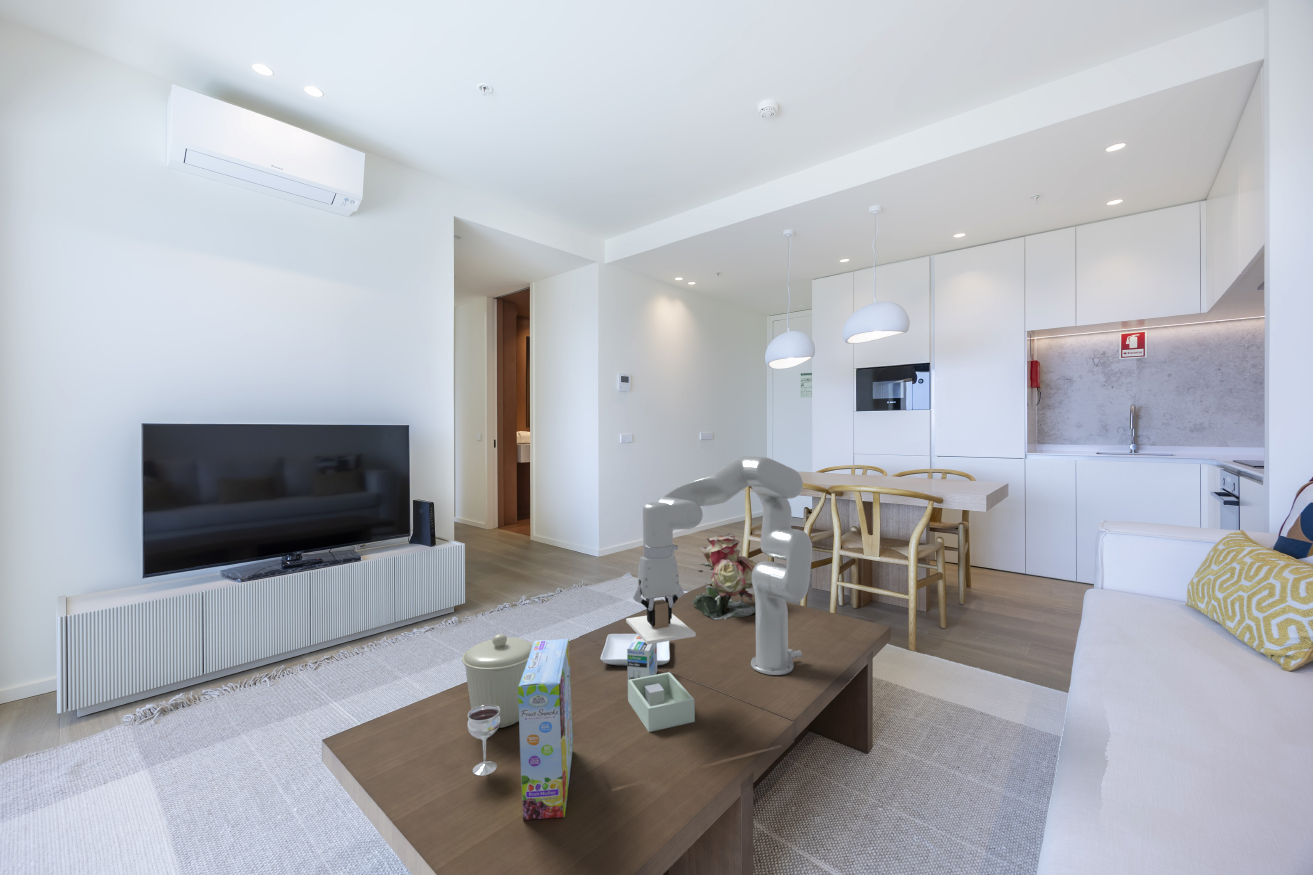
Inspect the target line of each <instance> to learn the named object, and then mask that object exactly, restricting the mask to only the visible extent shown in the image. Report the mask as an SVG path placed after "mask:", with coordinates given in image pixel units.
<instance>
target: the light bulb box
mask: <svg viewBox="0 0 1313 875" xmlns="http://www.w3.org/2000/svg"><path fill="white" fill-rule="evenodd" d="M626 666H627V667H626V668H627V681H628V680H630V679H635V678H641V677H646V676H652V675H657V673H658V665H657V643H654V644H648V645H647V644H646V643H645V641H644V640H643V639H642V638H641V637H640V636H635V638H634V639H633V641H632V642H631V644H630V645H629V647H628V649H627V665H626Z"/></svg>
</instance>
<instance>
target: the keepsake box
mask: <svg viewBox="0 0 1313 875" xmlns="http://www.w3.org/2000/svg"><path fill="white" fill-rule="evenodd" d="M658 683H659V684H660V686H661V687H662V688H663V689H664V704H660V705H655V706H650V705H649V704H648V703H647V701H646V700H645V686H648V685H653V684H658ZM627 700H628V703H629V705H630V706H631V708H632V709H633V711H634V712H635V714H636V715H637V717H638V718H639V720H640V721H641V723H642V724H643V726H644V727H645V729H646V730H647V732H648V733H651V732H655V731H660V730H664V729H668V728H674V727H678V726H682V725H686V724H691V723H695V722H696V719H695V718H696V717H695V716H696V714H695V713H696V711H695V708H696V707H695V698H694V697H693V696H692V695H691V694H690V693H689V692H688V691H687V689H686V688H685V687H684V686H683V684H681V682H679V680H677V678H676V677H675V676H674V675H673V674H672V673H671V672H663V673H658V674H657V673H656V675H652V676H646V677H641V678H635V679H630V680H628V679H627Z"/></svg>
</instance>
